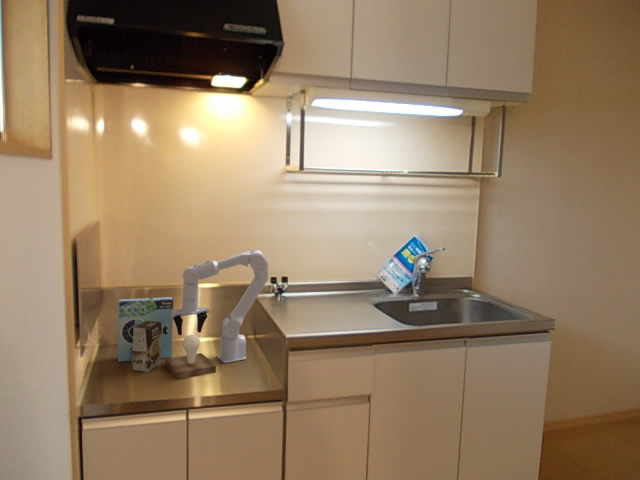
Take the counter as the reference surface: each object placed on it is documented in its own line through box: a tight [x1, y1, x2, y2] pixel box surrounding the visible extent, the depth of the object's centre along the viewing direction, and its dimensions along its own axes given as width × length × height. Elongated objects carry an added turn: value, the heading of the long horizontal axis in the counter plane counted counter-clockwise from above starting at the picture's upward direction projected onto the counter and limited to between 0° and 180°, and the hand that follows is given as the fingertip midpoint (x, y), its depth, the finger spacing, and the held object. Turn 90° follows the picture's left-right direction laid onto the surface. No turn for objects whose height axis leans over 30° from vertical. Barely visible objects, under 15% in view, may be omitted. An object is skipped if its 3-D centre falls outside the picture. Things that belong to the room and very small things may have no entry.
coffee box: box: [132, 321, 162, 373], centre depth 184 cm, size 9×6×16 cm
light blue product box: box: [117, 296, 174, 363], centre depth 192 cm, size 20×5×23 cm, turn 113°
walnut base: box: [164, 352, 217, 380], centre depth 185 cm, size 14×14×2 cm
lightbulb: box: [182, 334, 201, 364], centre depth 182 cm, size 6×6×11 cm
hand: (189, 333), depth 193 cm, fingers open, 7 cm apart
